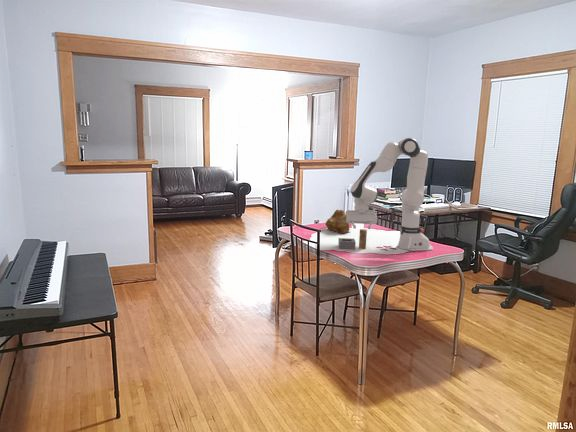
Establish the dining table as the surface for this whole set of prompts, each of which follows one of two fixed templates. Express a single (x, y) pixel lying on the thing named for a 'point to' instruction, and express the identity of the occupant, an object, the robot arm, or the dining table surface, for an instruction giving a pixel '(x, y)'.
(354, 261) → the dining table surface
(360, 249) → the cream base board
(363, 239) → the walnut slat
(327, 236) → the dining table surface
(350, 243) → the charcoal end cap
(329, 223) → the rough brown rock
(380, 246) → the dining table surface
